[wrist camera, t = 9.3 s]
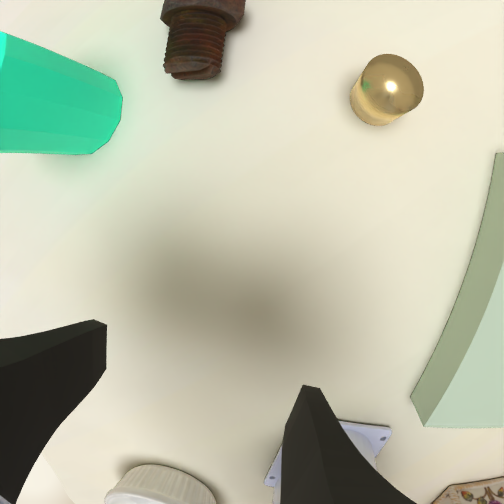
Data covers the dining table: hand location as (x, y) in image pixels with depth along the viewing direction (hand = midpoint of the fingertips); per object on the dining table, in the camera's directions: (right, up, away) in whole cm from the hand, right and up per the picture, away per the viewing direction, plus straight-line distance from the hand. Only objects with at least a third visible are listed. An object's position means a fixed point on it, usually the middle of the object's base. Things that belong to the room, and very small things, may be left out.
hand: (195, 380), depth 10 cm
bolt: (0, +22, +5) cm, 22 cm away
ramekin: (-6, -20, +15) cm, 26 cm away
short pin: (+9, +13, +6) cm, 17 cm away
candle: (-9, +14, +8) cm, 18 cm away
